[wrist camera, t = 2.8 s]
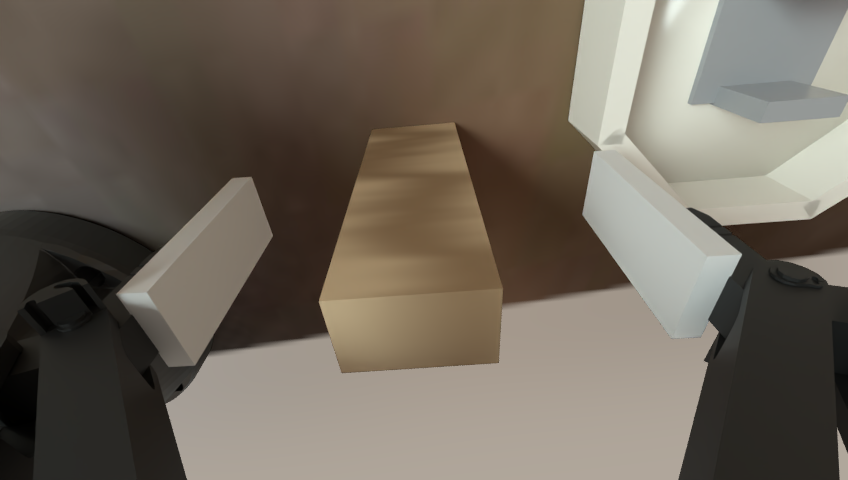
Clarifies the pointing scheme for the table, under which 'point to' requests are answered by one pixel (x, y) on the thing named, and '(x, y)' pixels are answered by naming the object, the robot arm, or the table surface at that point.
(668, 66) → the white octagonal tray
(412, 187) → the long cardboard-colored beam
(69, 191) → the table surface
